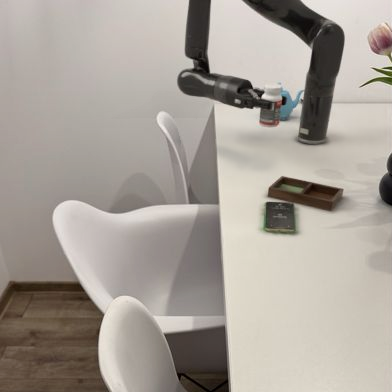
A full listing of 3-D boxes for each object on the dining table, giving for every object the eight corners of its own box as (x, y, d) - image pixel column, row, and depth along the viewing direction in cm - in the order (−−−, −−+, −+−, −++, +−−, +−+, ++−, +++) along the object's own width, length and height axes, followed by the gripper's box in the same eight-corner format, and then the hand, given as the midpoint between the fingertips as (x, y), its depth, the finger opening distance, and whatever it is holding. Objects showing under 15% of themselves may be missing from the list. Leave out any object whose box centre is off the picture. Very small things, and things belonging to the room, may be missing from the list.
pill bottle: (278, 128, 134) (282, 89, 128) (257, 127, 135) (261, 88, 129) (280, 122, 139) (284, 83, 132) (260, 120, 139) (263, 82, 133)
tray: (280, 184, 134) (281, 175, 133) (341, 198, 128) (343, 188, 126) (267, 196, 128) (268, 187, 127) (331, 211, 122) (332, 201, 120)
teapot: (252, 116, 182) (254, 86, 176) (278, 110, 188) (281, 81, 181) (276, 124, 174) (279, 93, 168) (302, 118, 180) (305, 87, 174)
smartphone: (263, 228, 113) (264, 200, 124) (263, 232, 113) (264, 204, 125) (296, 230, 112) (294, 202, 123) (295, 233, 113) (294, 205, 124)
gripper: (216, 81, 134) (263, 93, 125) (250, 73, 142) (296, 83, 133) (215, 110, 139) (260, 123, 130) (248, 100, 147) (292, 112, 138)
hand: (278, 103), depth 132 cm, fingers closed on pill bottle, 5 cm apart
